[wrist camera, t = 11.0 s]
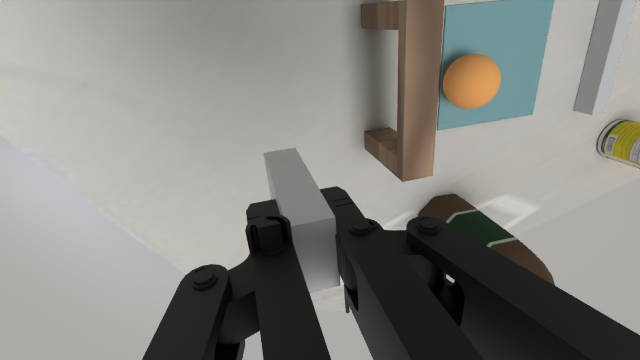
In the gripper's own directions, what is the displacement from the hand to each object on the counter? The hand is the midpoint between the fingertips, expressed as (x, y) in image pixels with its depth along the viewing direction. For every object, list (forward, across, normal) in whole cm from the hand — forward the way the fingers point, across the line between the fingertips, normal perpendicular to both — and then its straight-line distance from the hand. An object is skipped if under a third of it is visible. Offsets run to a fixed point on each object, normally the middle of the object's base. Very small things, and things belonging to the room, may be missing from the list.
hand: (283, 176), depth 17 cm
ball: (+17, +22, -1) cm, 28 cm away
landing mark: (+19, +27, 0) cm, 33 cm away
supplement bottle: (+20, +48, -12) cm, 53 cm away
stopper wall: (+19, +41, 0) cm, 45 cm away
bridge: (+19, +13, 0) cm, 23 cm away
